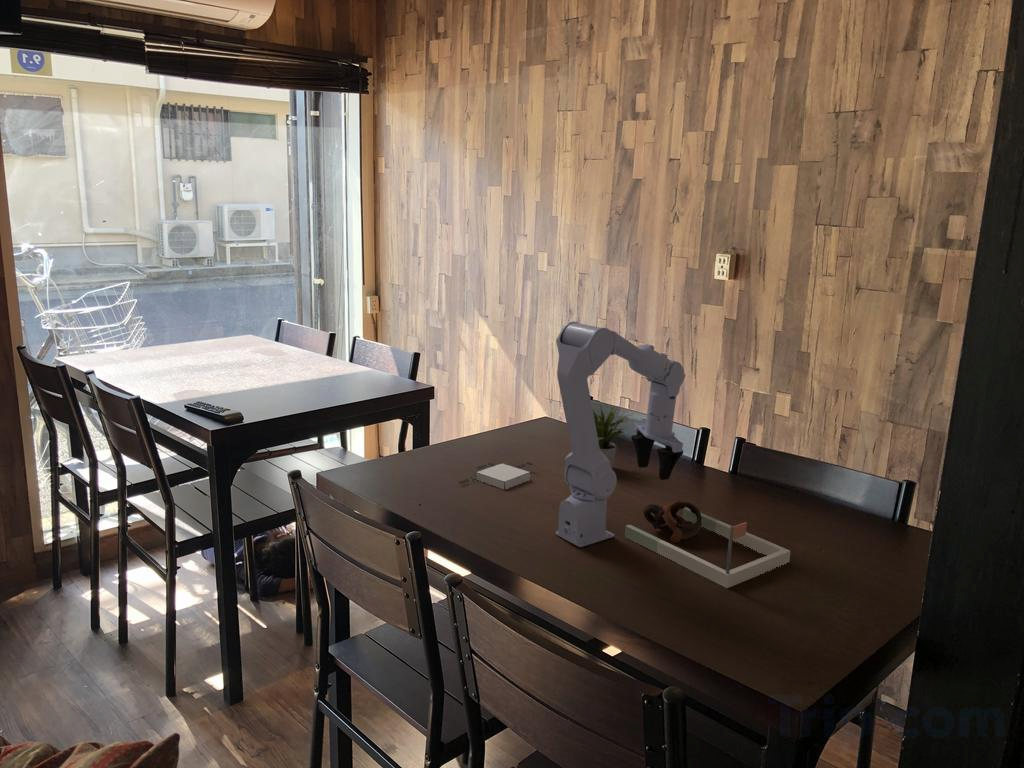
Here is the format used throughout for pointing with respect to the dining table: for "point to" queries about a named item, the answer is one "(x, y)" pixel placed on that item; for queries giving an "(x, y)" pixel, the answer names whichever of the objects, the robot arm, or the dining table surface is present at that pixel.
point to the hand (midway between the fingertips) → (653, 472)
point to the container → (502, 475)
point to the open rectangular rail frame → (737, 534)
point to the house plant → (608, 433)
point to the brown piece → (673, 519)
